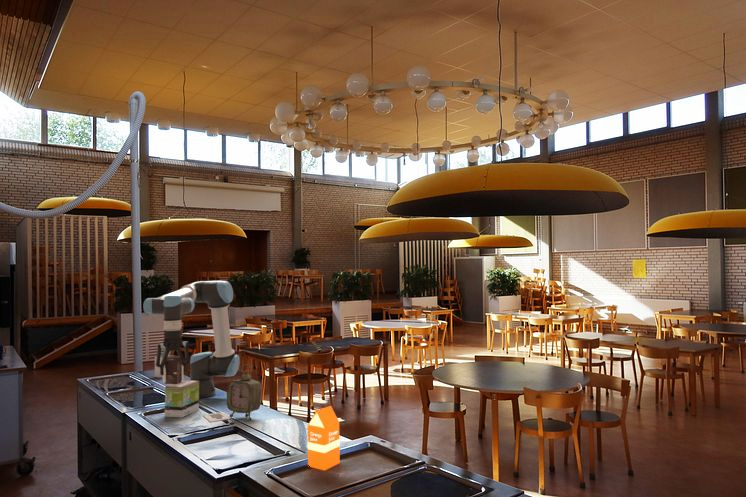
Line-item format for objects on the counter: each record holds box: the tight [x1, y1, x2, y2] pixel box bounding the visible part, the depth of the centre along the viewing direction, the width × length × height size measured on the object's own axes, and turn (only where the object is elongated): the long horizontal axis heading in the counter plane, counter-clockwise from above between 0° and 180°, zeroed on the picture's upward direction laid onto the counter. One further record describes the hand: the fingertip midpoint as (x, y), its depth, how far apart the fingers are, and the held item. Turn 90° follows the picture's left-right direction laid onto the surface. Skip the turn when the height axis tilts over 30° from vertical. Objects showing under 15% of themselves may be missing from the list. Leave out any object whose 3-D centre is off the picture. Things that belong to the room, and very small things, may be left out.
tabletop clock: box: [226, 363, 263, 422], centre depth 258 cm, size 14×9×25 cm, turn 64°
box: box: [164, 355, 182, 385], centre depth 246 cm, size 6×4×12 cm
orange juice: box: [307, 405, 341, 471], centre depth 197 cm, size 8×9×20 cm
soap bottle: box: [154, 346, 172, 379], centre depth 359 cm, size 9×9×19 cm
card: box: [202, 411, 232, 423], centre depth 260 cm, size 10×13×1 cm
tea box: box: [164, 379, 200, 418], centre depth 268 cm, size 15×10×15 cm, turn 168°
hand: (173, 381), depth 246 cm, fingers closed on box, 7 cm apart
